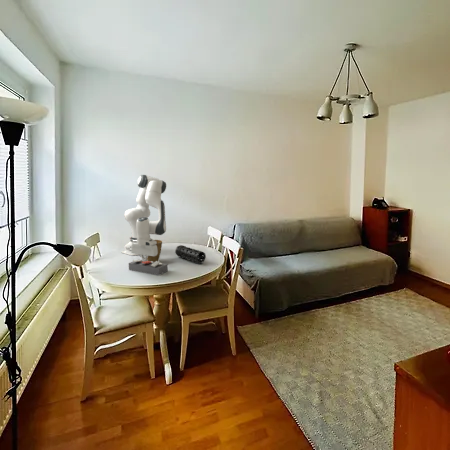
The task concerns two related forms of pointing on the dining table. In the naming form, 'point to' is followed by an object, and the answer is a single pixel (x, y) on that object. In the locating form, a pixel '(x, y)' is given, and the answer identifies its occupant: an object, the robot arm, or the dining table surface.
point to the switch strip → (148, 268)
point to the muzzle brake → (190, 254)
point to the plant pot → (156, 258)
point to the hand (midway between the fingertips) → (144, 260)
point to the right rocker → (155, 264)
